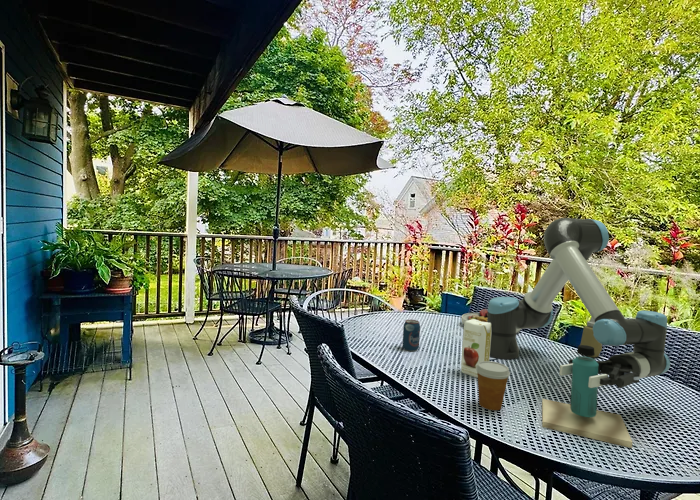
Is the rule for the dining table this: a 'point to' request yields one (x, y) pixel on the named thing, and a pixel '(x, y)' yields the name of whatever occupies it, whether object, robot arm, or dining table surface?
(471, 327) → the juice carton
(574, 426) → the birch board
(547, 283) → the robot arm
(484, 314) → the bowl
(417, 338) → the soda can
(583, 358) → the beverage bottle
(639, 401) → the dining table surface
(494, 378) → the disposable coffee cup
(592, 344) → the squeeze bottle
